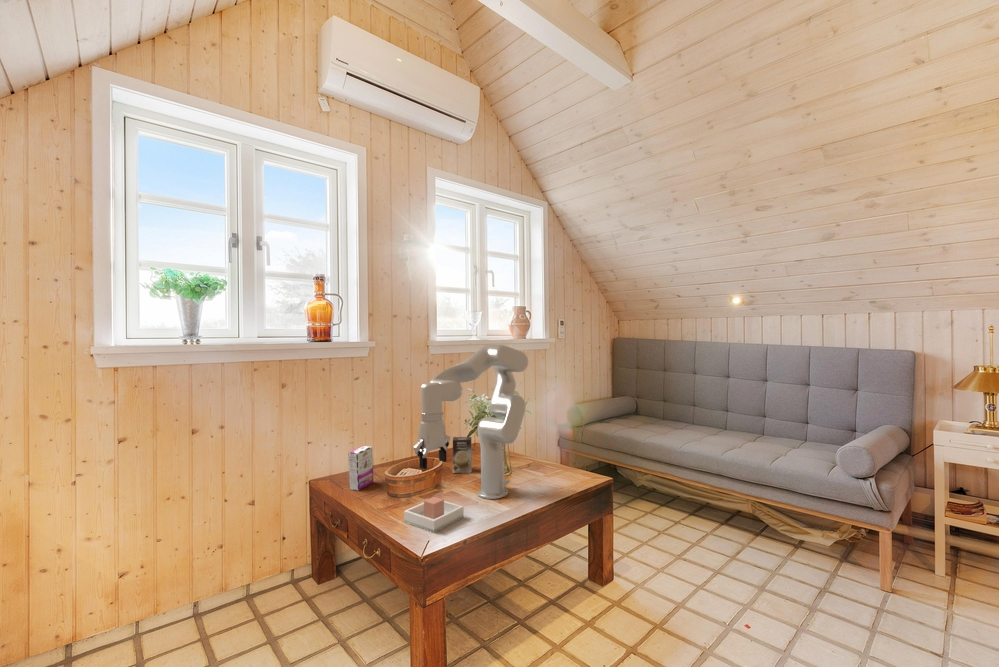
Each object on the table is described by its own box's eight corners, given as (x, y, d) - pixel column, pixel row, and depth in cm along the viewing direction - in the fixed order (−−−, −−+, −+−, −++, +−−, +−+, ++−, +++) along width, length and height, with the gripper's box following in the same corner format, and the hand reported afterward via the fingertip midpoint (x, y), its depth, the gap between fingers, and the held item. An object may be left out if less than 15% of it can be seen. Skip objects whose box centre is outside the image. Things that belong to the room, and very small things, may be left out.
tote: (434, 508, 171) (433, 497, 171) (463, 517, 162) (463, 506, 162) (404, 522, 159) (403, 511, 159) (434, 533, 150) (433, 521, 150)
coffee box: (452, 474, 212) (451, 440, 212) (453, 469, 218) (452, 437, 218) (471, 473, 212) (471, 439, 212) (472, 469, 219) (471, 436, 218)
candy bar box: (364, 481, 204) (363, 445, 204) (373, 482, 202) (372, 446, 202) (348, 490, 193) (347, 452, 193) (358, 491, 191) (357, 452, 191)
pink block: (434, 513, 164) (433, 496, 164) (444, 516, 161) (443, 499, 161) (424, 517, 160) (424, 501, 160) (434, 521, 157) (434, 504, 157)
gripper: (441, 412, 170) (442, 457, 170) (406, 420, 156) (407, 469, 156) (456, 414, 165) (457, 460, 165) (421, 422, 151) (422, 473, 152)
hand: (433, 464), depth 161 cm, fingers open, 9 cm apart
